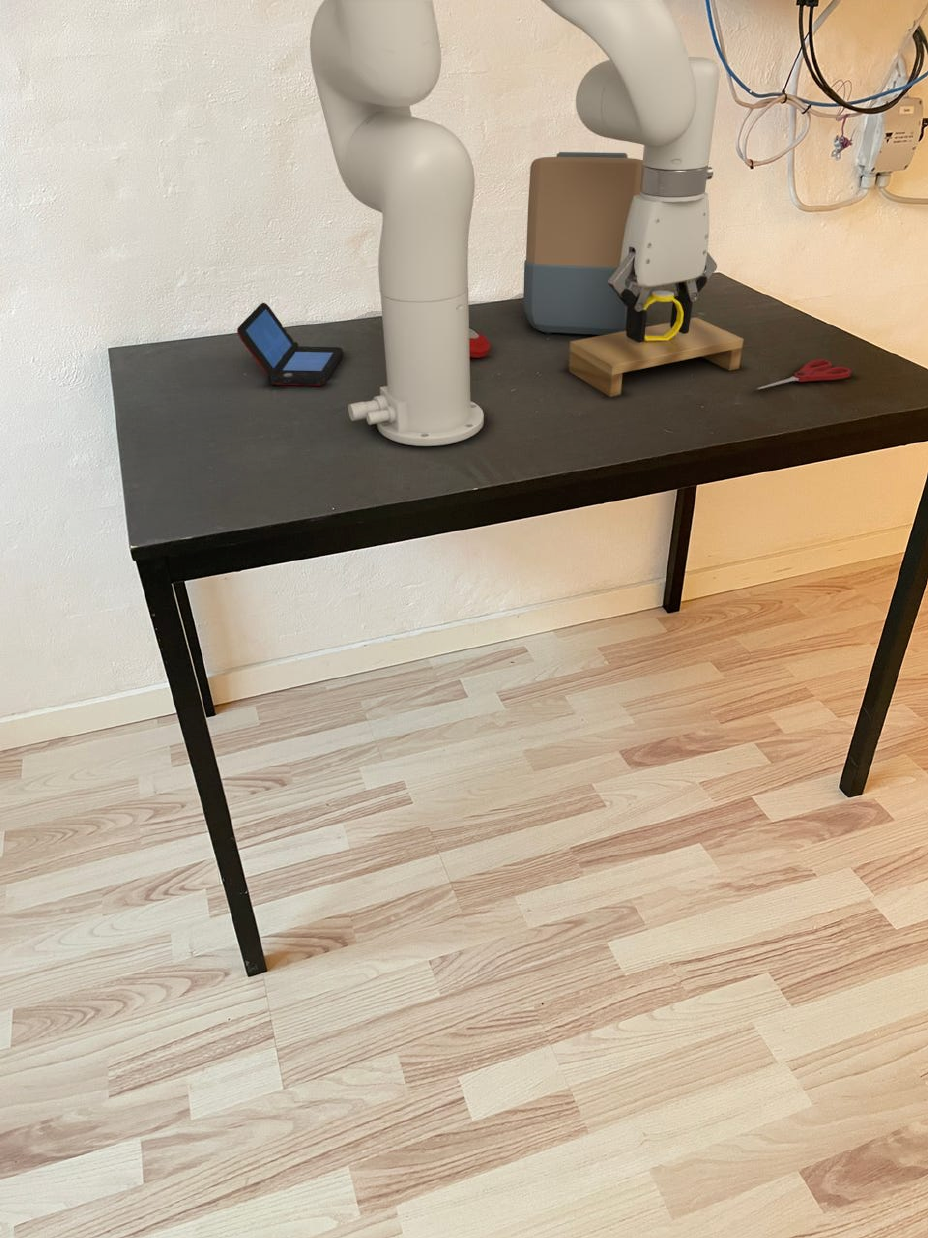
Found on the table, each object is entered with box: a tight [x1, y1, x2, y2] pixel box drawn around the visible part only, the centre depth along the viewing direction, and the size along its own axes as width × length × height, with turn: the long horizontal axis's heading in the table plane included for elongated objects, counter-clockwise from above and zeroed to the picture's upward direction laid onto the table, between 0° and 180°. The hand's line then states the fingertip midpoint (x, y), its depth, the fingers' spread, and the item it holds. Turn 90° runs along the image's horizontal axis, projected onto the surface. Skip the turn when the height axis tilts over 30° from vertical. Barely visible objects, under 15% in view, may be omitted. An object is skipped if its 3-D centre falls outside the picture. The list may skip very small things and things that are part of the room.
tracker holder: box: [469, 326, 491, 359], centre depth 125 cm, size 12×4×10 cm
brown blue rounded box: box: [522, 151, 643, 336], centre depth 127 cm, size 17×17×23 cm
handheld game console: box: [236, 302, 344, 387], centre depth 118 cm, size 12×11×7 cm
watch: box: [643, 289, 684, 341], centre depth 113 cm, size 6×3×6 cm, turn 100°
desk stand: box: [568, 317, 744, 398], centre depth 116 cm, size 20×10×4 cm, turn 115°
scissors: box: [756, 358, 852, 390], centre depth 113 cm, size 5×14×1 cm, turn 119°
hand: (657, 333), depth 115 cm, fingers closed on watch, 6 cm apart
